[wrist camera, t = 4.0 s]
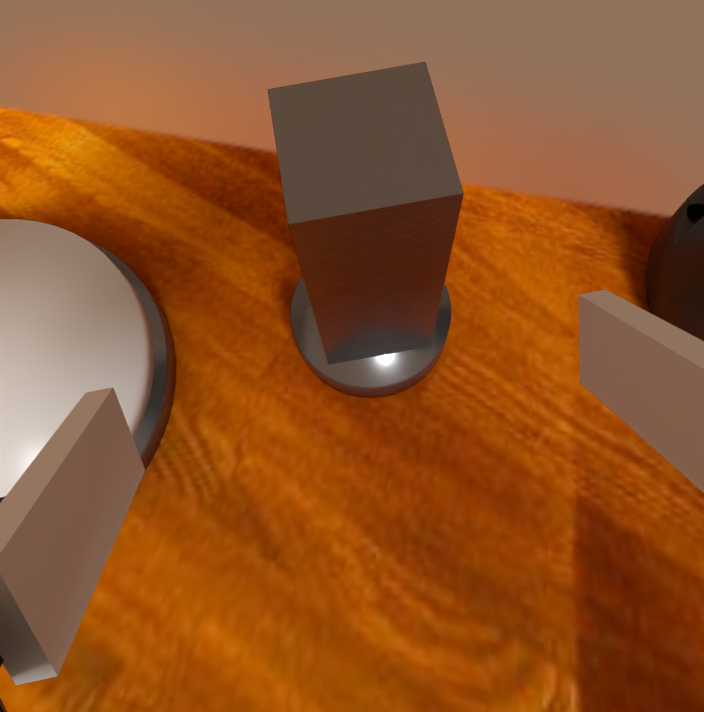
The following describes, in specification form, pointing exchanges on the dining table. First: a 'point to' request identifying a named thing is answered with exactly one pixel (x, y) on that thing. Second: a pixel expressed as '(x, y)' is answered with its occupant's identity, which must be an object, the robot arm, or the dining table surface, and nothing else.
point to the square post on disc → (368, 225)
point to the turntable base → (163, 367)
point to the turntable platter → (63, 338)
